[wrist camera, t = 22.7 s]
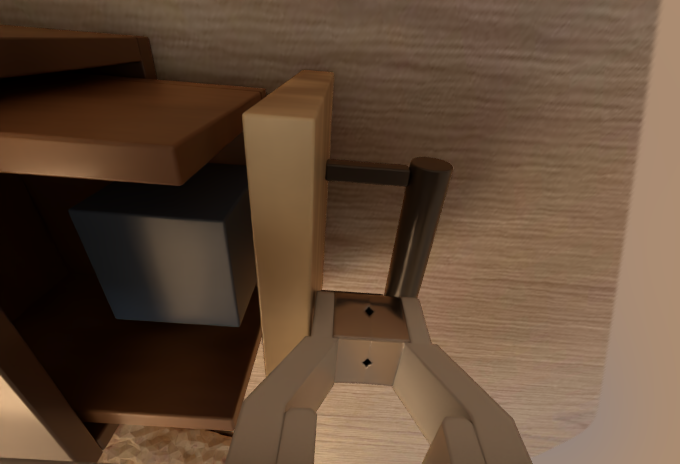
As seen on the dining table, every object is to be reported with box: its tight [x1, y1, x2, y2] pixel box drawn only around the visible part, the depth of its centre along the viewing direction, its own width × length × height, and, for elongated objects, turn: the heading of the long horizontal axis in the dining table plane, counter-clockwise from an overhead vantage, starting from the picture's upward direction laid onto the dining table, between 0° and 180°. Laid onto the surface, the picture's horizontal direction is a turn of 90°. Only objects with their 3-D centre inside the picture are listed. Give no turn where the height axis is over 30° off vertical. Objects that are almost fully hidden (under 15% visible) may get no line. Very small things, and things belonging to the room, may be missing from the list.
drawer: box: [0, 70, 453, 431], centre depth 11 cm, size 18×11×8 cm, turn 86°
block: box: [68, 163, 257, 327], centre depth 12 cm, size 4×4×4 cm
